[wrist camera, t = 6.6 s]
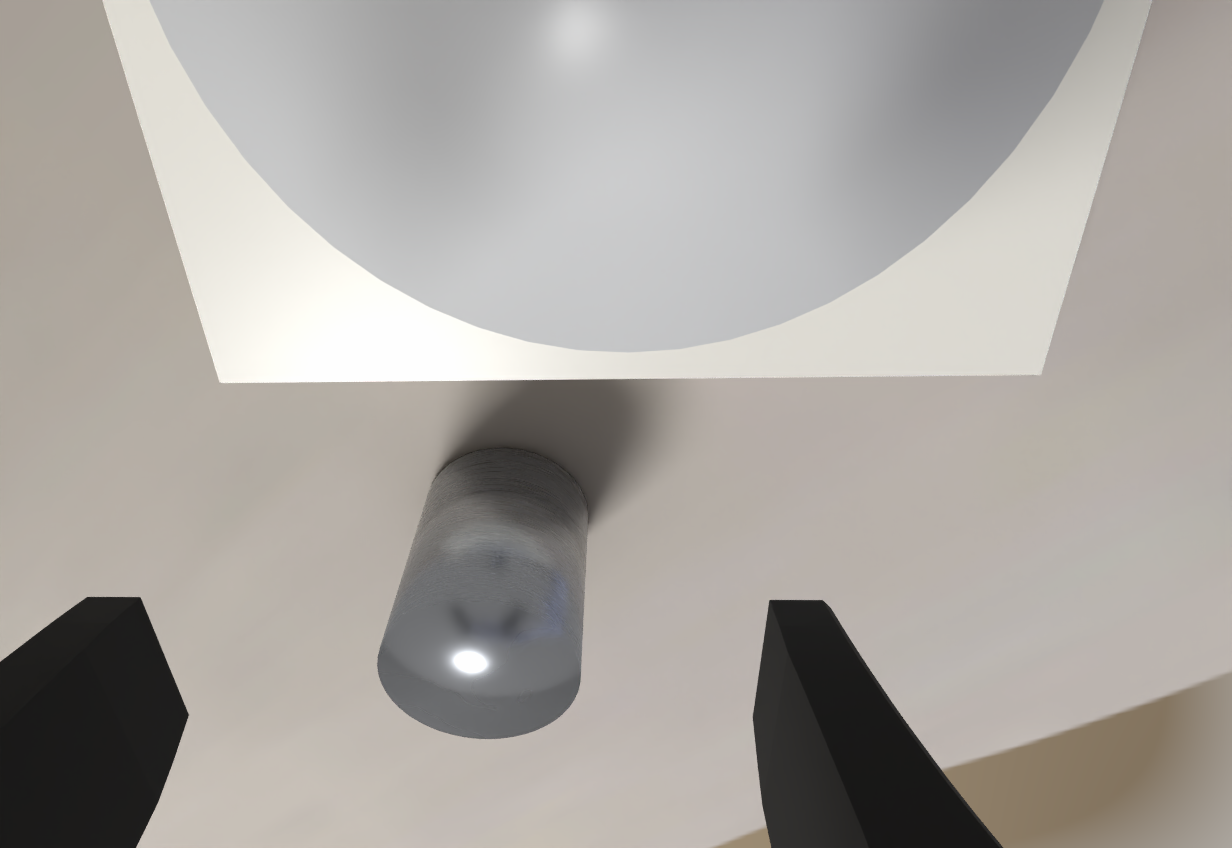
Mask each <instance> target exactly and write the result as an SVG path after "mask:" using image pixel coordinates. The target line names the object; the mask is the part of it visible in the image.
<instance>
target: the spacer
mask: <svg viewBox="0 0 1232 848" xmlns="http://www.w3.org/2000/svg"><path fill="white" fill-rule="evenodd" d="M587 531H588V508H587V503H586V500H585V497H584V495H583V493H582V490H581V489H580V487H579V486H578V484H577V483H576V481H575V480H574V479H573V478H572V477H571V476H570V474H568V473H567V472H566V471H565V470H564V469H563V468H561V467H560V466H558V465H557V464H555V463H554V462H552V461H550V460H548V459H546V458H545V457H542V456H540V455H537V454H534V453H531V452H527V451H523V450H517V449H509V448H495V449H486V450H480V451H476V452H473V453H470V454H467V455H465V456H463V457H460V458H458V459H457V460H455V461H453V462H452V463H450V464H449V465H448V466H447V467H445V468H444V469H443V470H442V471H441V472H440V473H439V475H438V476H437V477H436V479H435V480H434V482H433V483H432V485H431V488H430V490H429V493H428V496H427V499H426V502H425V506H424V509H423V512H422V515H421V518H420V522H419V525H418V528H417V531H416V534H415V538H414V541H413V544H412V547H411V550H410V554H409V557H408V560H407V563H406V566H405V570H404V573H403V576H402V579H401V582H400V586H399V589H398V592H397V595H396V598H395V602H394V605H393V608H392V611H391V614H390V618H389V621H388V624H387V627H386V630H385V634H384V637H383V640H382V643H381V646H380V650H379V654H378V663H377V667H378V674H379V677H380V680H381V683H382V685H383V687H384V689H385V691H386V693H387V694H388V695H389V697H390V698H391V699H392V701H393V702H394V703H395V704H396V705H397V706H398V707H399V708H400V709H402V710H403V711H404V712H405V713H407V714H408V715H409V716H411V717H412V718H414V719H415V720H417V721H419V722H421V723H423V724H425V725H427V726H429V727H431V728H434V729H436V730H439V731H442V732H445V733H449V734H452V735H457V736H462V737H468V738H477V739H498V738H508V737H514V736H519V735H523V734H527V733H530V732H533V731H535V730H538V729H540V728H542V727H544V726H546V725H548V724H550V723H551V722H553V721H555V720H556V719H557V718H558V717H560V716H561V715H562V714H563V713H564V712H565V711H566V710H567V709H568V708H569V707H570V705H571V704H572V702H573V701H574V699H575V697H576V695H577V693H578V690H579V686H580V677H581V656H582V635H583V615H584V594H585V573H586V552H587Z"/></svg>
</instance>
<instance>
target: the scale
mask: <svg viewBox="0 0 1232 848" xmlns="http://www.w3.org/2000/svg"><path fill="white" fill-rule="evenodd" d="M102 1H103V4H104V7H105V11H106V14H107V17H108V20H109V24H110V27H111V30H112V33H113V37H114V40H115V43H116V46H117V50H118V53H119V56H120V59H121V63H122V66H123V69H124V72H125V76H126V79H127V82H128V85H129V89H130V92H131V95H132V98H133V102H134V105H135V108H136V111H137V115H138V118H139V121H140V124H141V128H142V131H143V134H144V137H145V141H146V144H147V147H148V150H149V154H150V157H151V160H152V164H153V167H154V170H155V173H156V177H157V180H158V183H159V186H160V190H161V193H162V196H163V199H164V203H165V206H166V209H167V212H168V216H169V219H170V222H171V225H172V229H173V232H174V235H175V238H176V242H177V245H178V248H179V251H180V255H181V258H182V261H183V264H184V268H185V271H186V274H187V277H188V281H189V284H190V287H191V290H192V294H193V297H194V300H195V303H196V307H197V310H198V313H199V316H200V320H201V323H202V326H203V330H204V333H205V336H206V339H207V343H208V346H209V349H210V352H211V356H212V359H213V362H214V365H215V369H216V372H217V375H218V378H219V382H220V383H264V382H366V381H468V380H570V379H672V378H774V377H876V376H979V375H1041V373H1042V369H1043V366H1044V363H1045V359H1046V356H1047V352H1048V349H1049V346H1050V342H1051V339H1052V336H1053V332H1054V329H1055V326H1056V322H1057V319H1058V316H1059V312H1060V309H1061V306H1062V302H1063V299H1064V295H1065V292H1066V289H1067V285H1068V282H1069V279H1070V275H1071V272H1072V269H1073V265H1074V262H1075V259H1076V255H1077V252H1078V249H1079V245H1080V242H1081V238H1082V235H1083V232H1084V228H1085V225H1086V222H1087V218H1088V215H1089V212H1090V208H1091V205H1092V202H1093V198H1094V195H1095V192H1096V188H1097V185H1098V182H1099V178H1100V175H1101V171H1102V168H1103V165H1104V161H1105V158H1106V155H1107V151H1108V148H1109V145H1110V141H1111V138H1112V135H1113V131H1114V128H1115V125H1116V121H1117V118H1118V114H1119V111H1120V108H1121V104H1122V101H1123V98H1124V94H1125V91H1126V88H1127V84H1128V81H1129V78H1130V74H1131V71H1132V68H1133V64H1134V61H1135V58H1136V54H1137V51H1138V47H1139V44H1140V41H1141V37H1142V34H1143V31H1144V27H1145V24H1146V21H1147V17H1148V14H1149V11H1150V7H1151V4H1152V1H1153V0H102Z"/></svg>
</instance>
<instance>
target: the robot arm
mask: <svg viewBox="0 0 1232 848" xmlns="http://www.w3.org/2000/svg"><path fill="white" fill-rule="evenodd" d="M188 716H189V714H188V712H187V709H186V707H185V705H184V702H183V700H182V697H181V695H180V692H179V690H178V687H177V685H176V683H175V680H174V678H173V675H172V673H171V670H170V668H169V666H168V663H167V661H166V658H165V656H164V653H163V651H162V649H161V646H160V644H159V641H158V639H157V636H156V634H155V632H154V629H153V627H152V624H151V622H150V619H149V617H148V614H147V612H146V610H145V607H144V605H143V602H142V600H141V597H87V598H85V599H84V600H82V601H81V602H80V603H78V604H77V605H75V606H74V607H73V608H71V609H70V610H68V611H67V612H66V613H64V614H63V615H61V616H60V617H59V618H57V619H56V620H55V621H53V622H52V623H51V624H49V625H48V626H47V627H45V628H44V629H43V630H41V631H40V632H39V633H37V634H36V635H35V636H33V637H32V638H31V639H29V640H28V641H27V642H26V643H24V644H23V645H22V646H20V647H19V648H18V649H16V650H15V651H14V652H13V653H11V654H10V655H9V656H7V657H6V658H5V659H3V660H2V661H1V662H0V848H136V846H137V844H138V842H139V840H140V838H141V836H142V834H143V832H144V830H145V828H146V826H147V824H148V822H149V820H150V818H151V816H152V814H153V812H154V810H155V808H156V805H157V803H158V801H159V798H160V796H161V793H162V790H163V788H164V785H165V782H166V780H167V777H168V774H169V772H170V769H171V766H172V763H173V761H174V758H175V755H176V752H177V749H178V746H179V743H180V740H181V737H182V734H183V731H184V728H185V725H186V722H187V719H188ZM753 724H754V734H755V743H756V753H757V762H758V771H759V780H760V788H761V797H762V805H763V810H764V815H765V820H766V824H767V829H768V834H769V838H770V843H771V848H1003V847H1002V846H1001V844H1000V843H999V842H998V841H997V840H996V838H995V837H994V836H993V835H992V833H991V832H990V831H989V830H988V829H987V827H986V826H985V825H984V824H983V822H981V820H980V819H979V818H978V817H977V815H976V814H975V813H974V812H973V810H972V809H971V808H970V806H969V805H968V804H967V803H966V801H965V800H964V799H963V797H962V796H961V795H960V794H959V792H958V791H957V790H956V789H955V787H954V786H953V785H952V784H951V782H950V781H949V780H948V778H947V777H946V776H945V774H944V773H943V772H942V770H941V769H940V767H939V766H938V765H937V763H936V762H935V761H934V759H933V758H932V757H931V755H930V754H929V753H928V751H927V750H926V749H925V747H924V746H923V745H922V743H921V742H920V741H919V739H918V738H917V736H916V735H915V734H914V732H913V731H912V730H911V728H910V727H909V726H908V724H907V723H906V721H905V720H904V719H903V717H902V716H901V714H900V713H899V712H898V710H897V709H896V707H895V706H894V704H893V703H892V702H891V700H890V699H889V697H888V696H887V694H886V693H885V691H884V690H883V688H882V687H881V685H880V684H879V683H878V681H877V680H876V678H875V677H874V675H873V674H872V672H871V671H870V669H869V668H868V666H867V665H866V663H865V662H864V660H863V659H862V657H861V656H860V654H859V652H858V651H857V649H856V648H855V646H854V645H853V643H852V642H851V640H850V638H849V637H848V635H847V634H846V632H845V630H844V629H843V627H842V626H841V624H840V622H839V621H838V619H837V617H836V616H835V614H834V613H833V611H832V609H831V608H830V607H829V606H828V605H827V604H826V603H825V602H824V601H823V600H769V607H768V614H767V621H766V628H765V635H764V642H763V650H762V657H761V664H760V671H759V678H758V685H757V692H756V699H755V706H754V713H753Z"/></svg>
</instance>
